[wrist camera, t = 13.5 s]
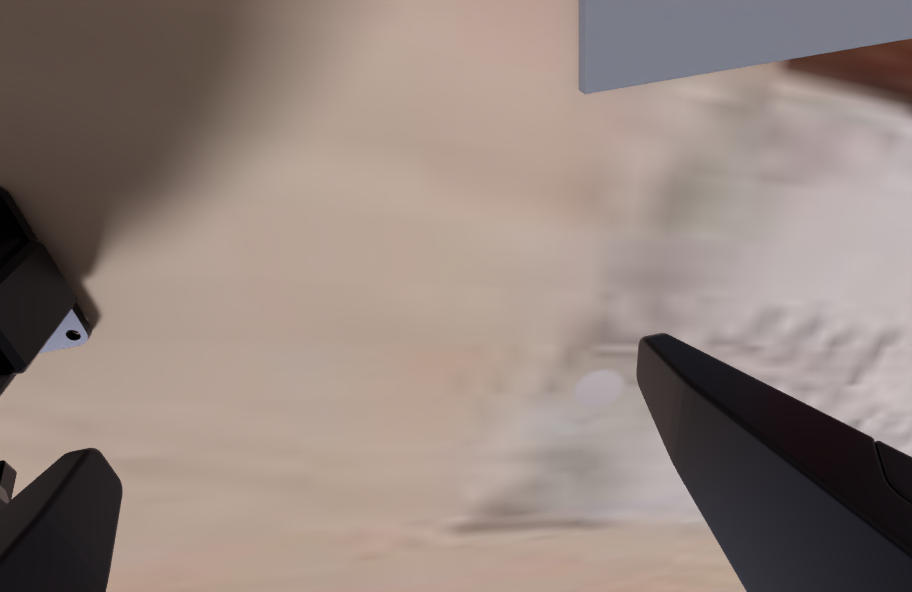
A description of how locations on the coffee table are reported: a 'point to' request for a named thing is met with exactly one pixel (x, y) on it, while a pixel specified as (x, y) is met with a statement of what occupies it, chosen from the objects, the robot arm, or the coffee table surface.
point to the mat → (721, 35)
